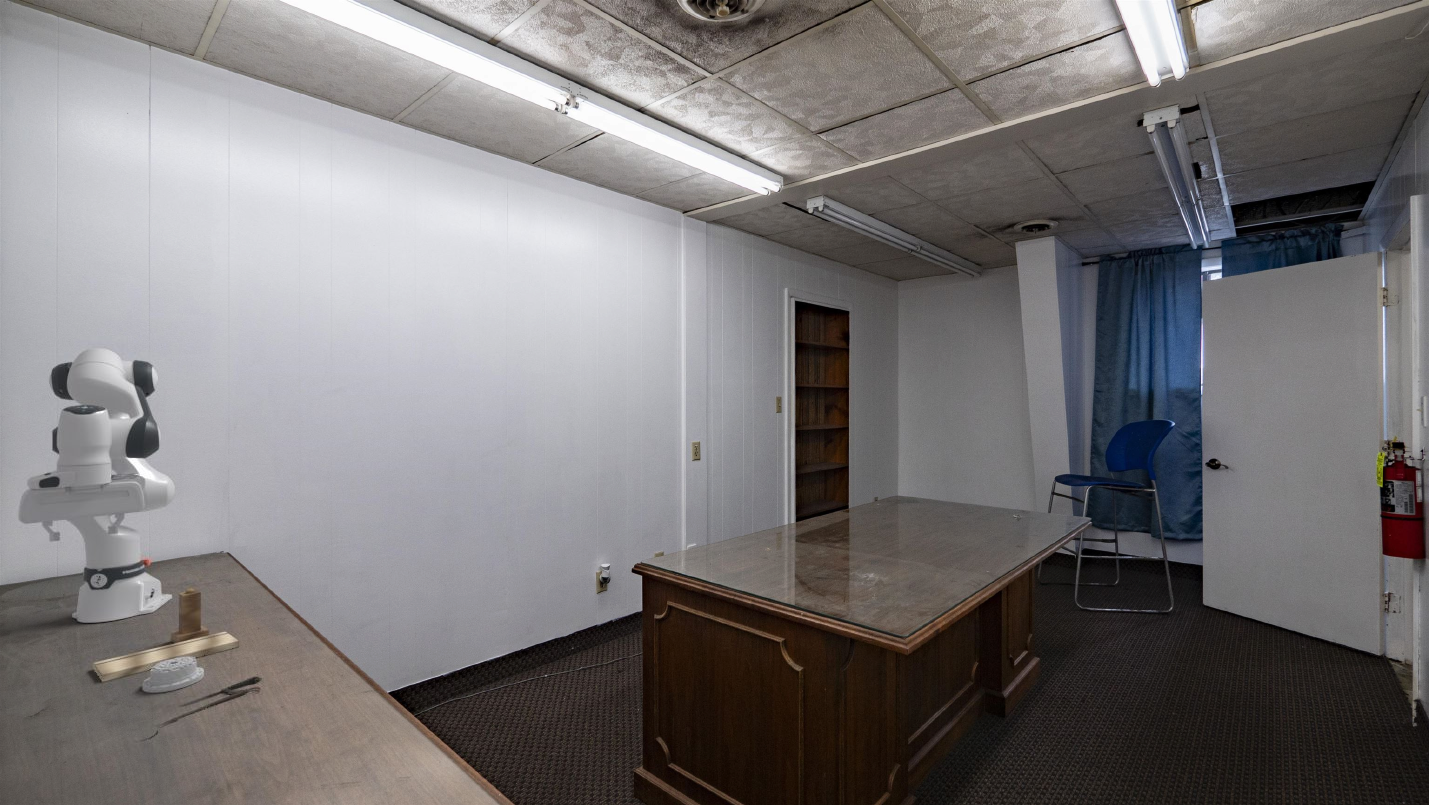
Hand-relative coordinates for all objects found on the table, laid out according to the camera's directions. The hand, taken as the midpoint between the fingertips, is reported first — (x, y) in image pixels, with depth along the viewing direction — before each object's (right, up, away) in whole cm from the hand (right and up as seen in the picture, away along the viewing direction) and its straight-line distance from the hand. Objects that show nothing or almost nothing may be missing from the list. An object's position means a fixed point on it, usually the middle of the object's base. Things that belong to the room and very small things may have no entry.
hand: (84, 537), depth 143 cm
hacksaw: (+44, -30, -20) cm, 57 cm away
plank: (+17, -29, +3) cm, 33 cm away
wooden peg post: (+13, -29, +13) cm, 34 cm away
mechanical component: (+29, -29, -10) cm, 42 cm away
